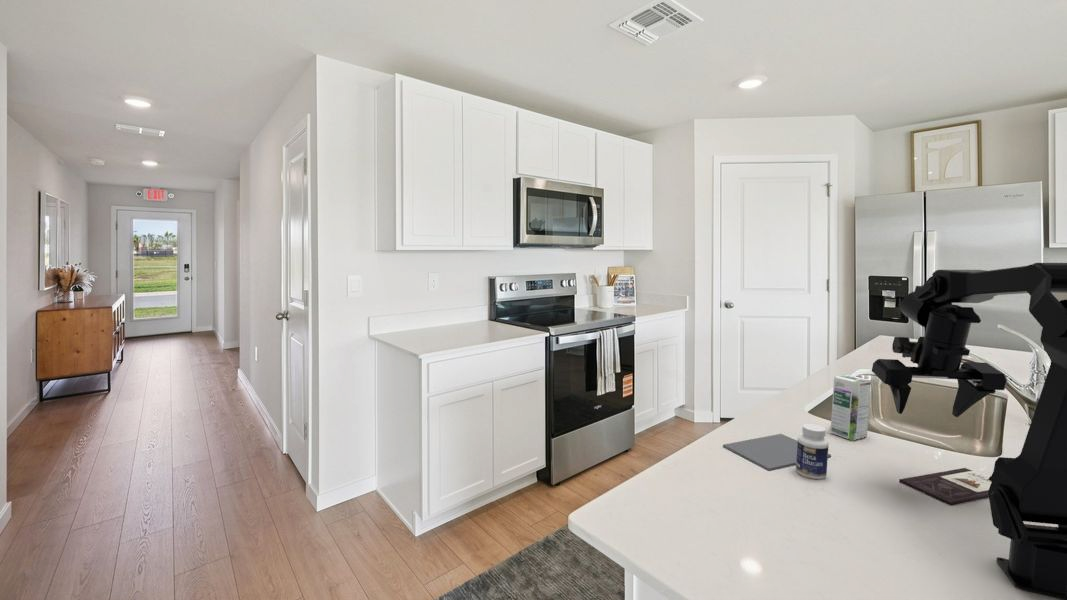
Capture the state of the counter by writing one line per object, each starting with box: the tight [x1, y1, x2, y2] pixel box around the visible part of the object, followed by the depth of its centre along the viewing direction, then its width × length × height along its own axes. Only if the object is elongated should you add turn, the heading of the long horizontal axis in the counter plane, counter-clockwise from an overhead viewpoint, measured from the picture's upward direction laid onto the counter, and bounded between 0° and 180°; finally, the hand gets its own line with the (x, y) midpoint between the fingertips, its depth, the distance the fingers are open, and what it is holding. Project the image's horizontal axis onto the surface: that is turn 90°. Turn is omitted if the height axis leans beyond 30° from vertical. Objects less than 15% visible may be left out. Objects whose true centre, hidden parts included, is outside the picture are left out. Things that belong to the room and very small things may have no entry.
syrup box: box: [829, 374, 872, 442], centre depth 115 cm, size 6×6×14 cm
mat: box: [722, 433, 832, 472], centre depth 107 cm, size 13×18×1 cm
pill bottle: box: [795, 423, 830, 480], centre depth 96 cm, size 5×5×10 cm
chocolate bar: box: [898, 467, 992, 506], centre depth 91 cm, size 9×1×18 cm
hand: (926, 414), depth 89 cm, fingers open, 9 cm apart
